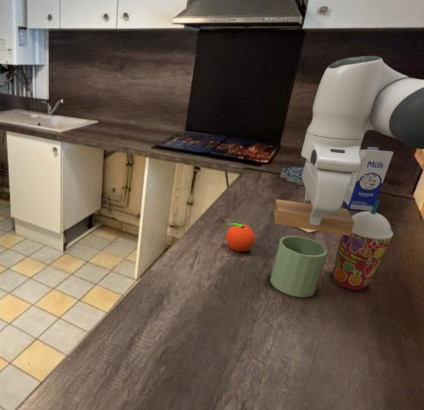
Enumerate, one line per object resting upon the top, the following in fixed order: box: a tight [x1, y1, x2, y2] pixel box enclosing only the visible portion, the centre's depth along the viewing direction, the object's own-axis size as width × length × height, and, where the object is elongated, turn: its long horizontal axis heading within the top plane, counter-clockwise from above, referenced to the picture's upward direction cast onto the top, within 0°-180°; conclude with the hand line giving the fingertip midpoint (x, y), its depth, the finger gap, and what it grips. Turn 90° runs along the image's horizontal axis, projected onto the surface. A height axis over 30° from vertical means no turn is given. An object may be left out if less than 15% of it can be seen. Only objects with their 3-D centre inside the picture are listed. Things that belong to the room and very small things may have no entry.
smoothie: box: [331, 199, 394, 291], centre depth 76 cm, size 8×8×20 cm
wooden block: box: [272, 198, 355, 236], centre depth 73 cm, size 6×13×3 cm, turn 67°
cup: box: [269, 235, 329, 298], centre depth 78 cm, size 9×9×10 cm
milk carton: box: [342, 146, 395, 212], centre depth 115 cm, size 7×7×20 cm
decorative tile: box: [279, 165, 305, 186], centre depth 143 cm, size 20×20×2 cm
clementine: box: [224, 222, 256, 252], centre depth 93 cm, size 8×7×7 cm
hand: (310, 215), depth 73 cm, fingers closed on wooden block, 6 cm apart
